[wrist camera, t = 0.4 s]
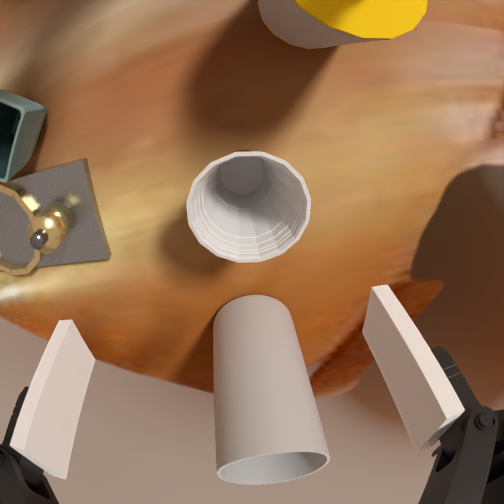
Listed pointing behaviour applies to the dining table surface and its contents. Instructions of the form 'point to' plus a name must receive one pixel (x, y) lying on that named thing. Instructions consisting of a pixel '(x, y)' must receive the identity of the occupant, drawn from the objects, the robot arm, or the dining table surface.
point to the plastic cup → (248, 206)
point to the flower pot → (18, 132)
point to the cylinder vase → (263, 396)
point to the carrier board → (40, 196)
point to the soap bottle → (339, 20)
